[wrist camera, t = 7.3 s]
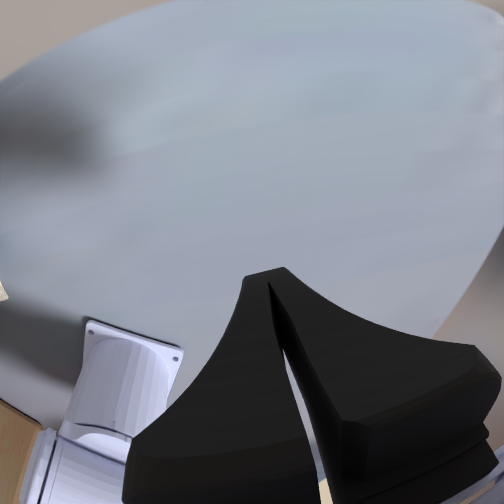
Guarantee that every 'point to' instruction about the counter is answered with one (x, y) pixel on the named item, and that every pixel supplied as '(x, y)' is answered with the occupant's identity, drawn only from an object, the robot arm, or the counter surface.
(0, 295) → the mat
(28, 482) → the robot arm
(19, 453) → the wooden block
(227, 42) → the counter surface
